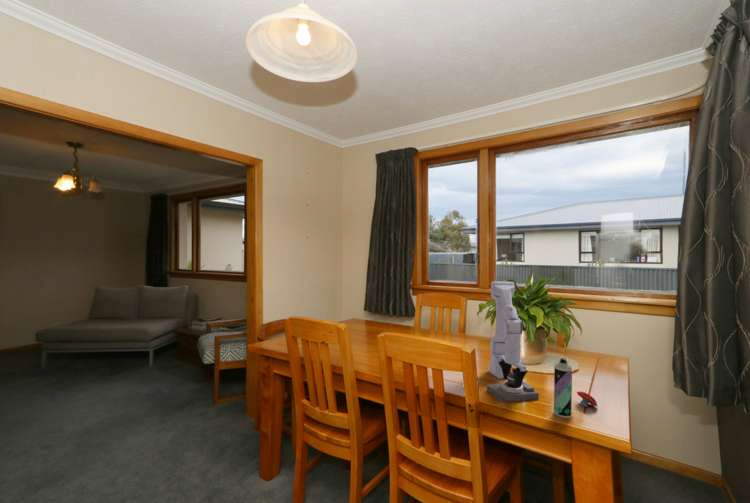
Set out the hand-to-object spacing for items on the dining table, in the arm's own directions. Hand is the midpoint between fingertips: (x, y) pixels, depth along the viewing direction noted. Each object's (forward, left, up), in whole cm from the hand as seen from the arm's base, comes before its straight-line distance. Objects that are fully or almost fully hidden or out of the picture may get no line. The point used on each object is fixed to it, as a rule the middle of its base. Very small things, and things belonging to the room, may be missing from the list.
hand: (512, 382), depth 136 cm
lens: (0, 0, -2) cm, 2 cm away
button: (+14, +22, -5) cm, 27 cm away
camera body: (0, 0, -5) cm, 5 cm away
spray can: (+18, +8, -5) cm, 20 cm away
